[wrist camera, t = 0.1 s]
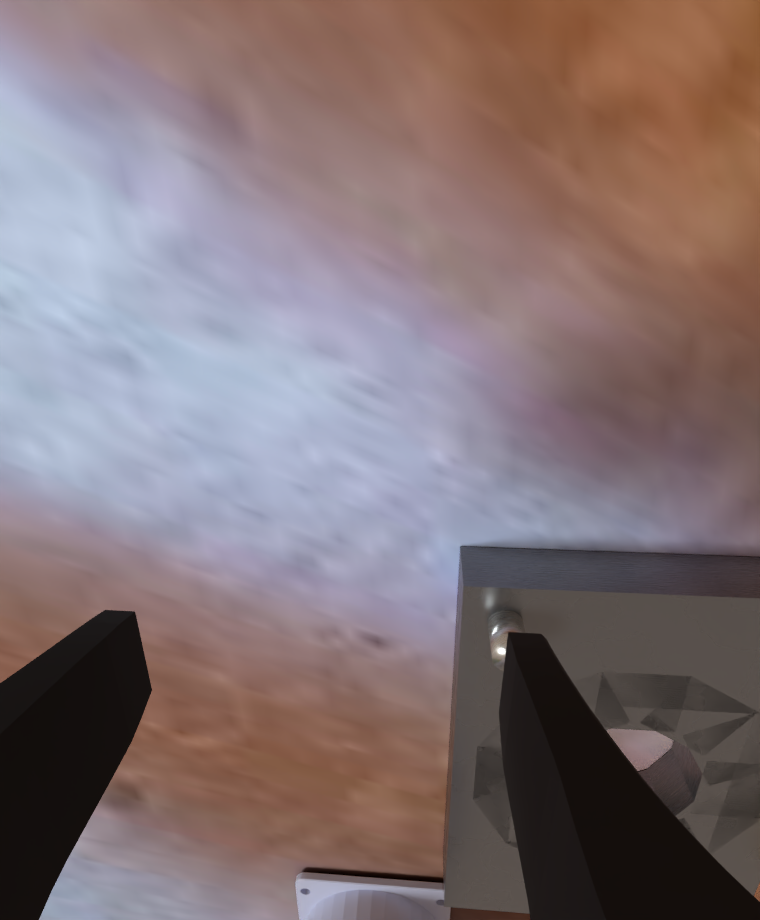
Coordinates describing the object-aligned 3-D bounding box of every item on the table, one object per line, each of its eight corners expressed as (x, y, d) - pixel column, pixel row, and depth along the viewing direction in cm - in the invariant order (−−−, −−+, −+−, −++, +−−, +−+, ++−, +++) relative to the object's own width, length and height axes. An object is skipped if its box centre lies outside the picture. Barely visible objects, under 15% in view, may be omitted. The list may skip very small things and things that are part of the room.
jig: (715, 873, 28) (756, 974, 25) (443, 853, 29) (444, 947, 26) (831, 559, 21) (915, 638, 17) (460, 546, 22) (466, 618, 18)
